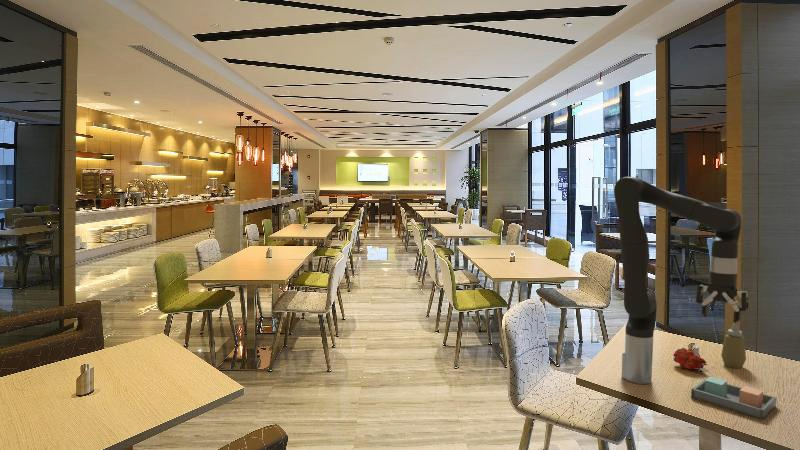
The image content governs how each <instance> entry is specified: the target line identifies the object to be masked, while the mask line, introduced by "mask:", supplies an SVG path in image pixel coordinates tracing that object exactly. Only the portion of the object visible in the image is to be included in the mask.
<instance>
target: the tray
mask: <svg viewBox="0 0 800 450" xmlns="http://www.w3.org/2000/svg"><path fill="white" fill-rule="evenodd" d="M708 378H709V377H707V378H705V379H704V380H702V381H701V382H700V383H698V384H697V385H695V386H694V387H692V388H691V389H690V390H691V391H690V394H691V395H690V398H691V399H696V400H697V401H698V400H699V401H702V402H704V403H708V404H712V405H714V406H717V407H720V408H723V407H724V408H723V409H726V408H727V410H729V409H730V410H729V411H733V410H734V411H733V412H737V413H740V414H742V415H746V416H749V417H752V418H756V419H759V420H762V421H763V420H764V419H765V418H766V417H767V416H768V415H769V414H770V413H771V412H772V411H773V410H774V409H775V408H776V407H777V397H776V396H773V395H768V394H765V393H763V401H762V407H761V408H756V407H753V406H750V405H746V404H743V403H740V402H739V395H740V390H741V389H742V388H743V387H740V386H736V385H733V384H730V383H727V395H726V396H725V397H724V398H723V397H720V396H717V395H713V394H710V393H707V392H704V391H705V380H706V379H708Z"/></svg>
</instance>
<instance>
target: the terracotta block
mask: <svg viewBox="0 0 800 450" xmlns="http://www.w3.org/2000/svg"><path fill="white" fill-rule="evenodd" d="M741 388H742V389H741V390H740V395H739V402H740V403H743V404H746V405H750V406H753V407H756V408H761V407H762V401H763V394H764V391H763V390H761V389H756V388H755V387H754V388H753V387H750V386H746V385H744V386H743V387H741Z"/></svg>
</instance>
